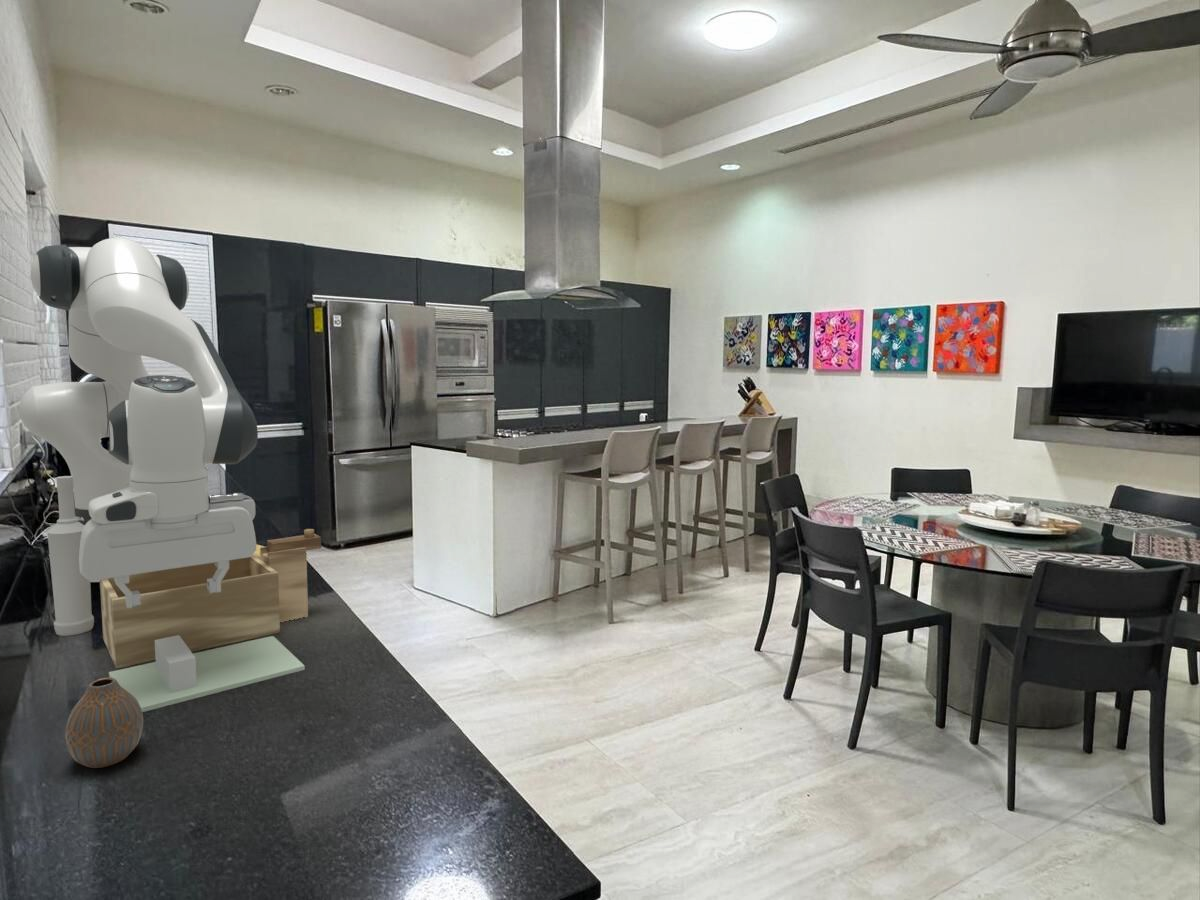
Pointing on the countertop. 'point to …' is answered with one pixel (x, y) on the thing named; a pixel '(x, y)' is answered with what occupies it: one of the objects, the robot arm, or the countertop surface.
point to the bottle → (68, 567)
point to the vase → (104, 725)
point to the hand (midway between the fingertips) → (175, 598)
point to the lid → (203, 670)
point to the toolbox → (204, 605)
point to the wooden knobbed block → (295, 542)
